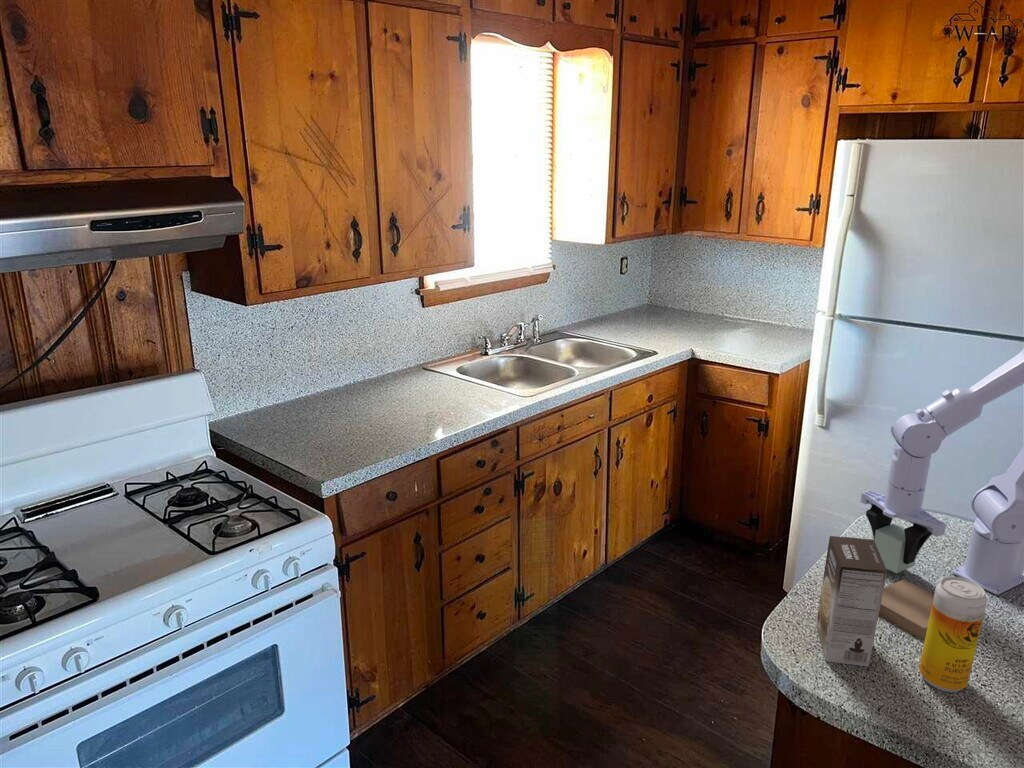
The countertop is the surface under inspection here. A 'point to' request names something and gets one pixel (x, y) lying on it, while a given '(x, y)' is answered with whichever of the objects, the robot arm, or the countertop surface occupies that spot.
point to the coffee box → (850, 600)
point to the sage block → (892, 547)
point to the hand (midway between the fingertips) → (893, 554)
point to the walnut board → (907, 607)
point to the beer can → (952, 633)
